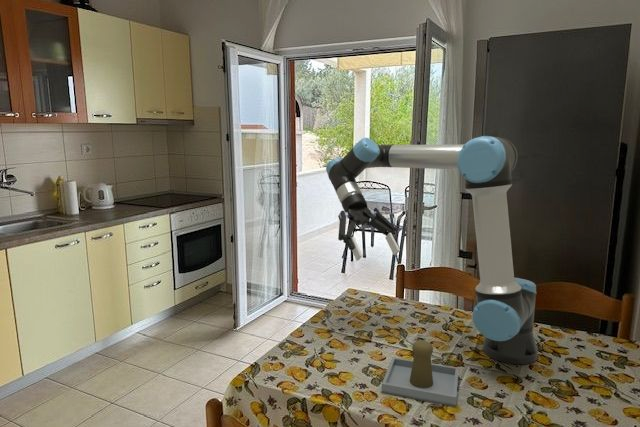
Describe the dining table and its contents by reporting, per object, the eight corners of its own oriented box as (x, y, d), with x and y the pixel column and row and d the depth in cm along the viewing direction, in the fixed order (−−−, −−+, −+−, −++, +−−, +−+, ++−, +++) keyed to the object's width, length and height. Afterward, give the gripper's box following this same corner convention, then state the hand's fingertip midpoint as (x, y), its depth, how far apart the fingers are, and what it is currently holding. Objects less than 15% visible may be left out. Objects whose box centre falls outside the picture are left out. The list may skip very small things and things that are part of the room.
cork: (433, 389, 112) (435, 348, 110) (409, 386, 113) (410, 346, 111) (432, 377, 118) (434, 338, 116) (409, 375, 119) (411, 336, 117)
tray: (458, 376, 119) (458, 367, 119) (455, 407, 105) (456, 397, 105) (392, 365, 125) (392, 356, 125) (381, 392, 111) (381, 383, 111)
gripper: (378, 204, 149) (405, 257, 139) (313, 209, 138) (337, 267, 127) (388, 190, 144) (417, 243, 133) (321, 194, 132) (347, 253, 122)
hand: (378, 255), depth 130 cm, fingers open, 13 cm apart
